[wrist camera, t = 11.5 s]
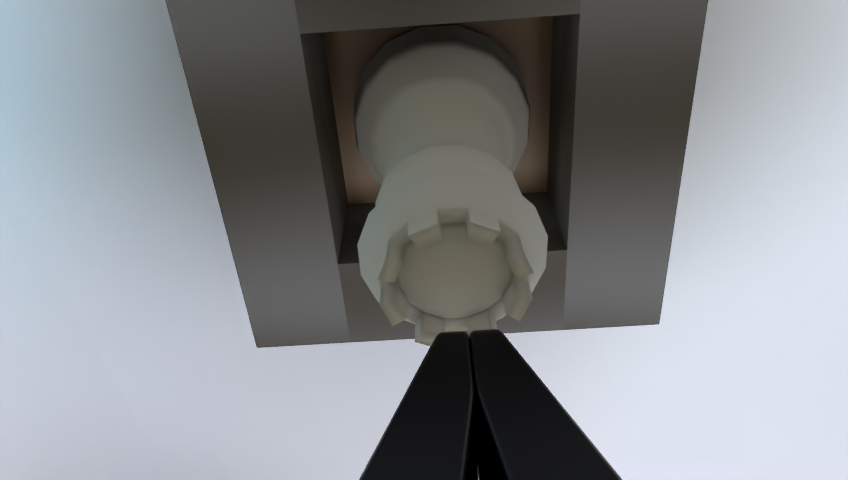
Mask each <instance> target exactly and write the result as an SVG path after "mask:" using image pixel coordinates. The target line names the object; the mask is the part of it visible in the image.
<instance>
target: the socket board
mask: <svg viewBox="0 0 848 480" xmlns="http://www.w3.org/2000/svg"><path fill="white" fill-rule="evenodd" d="M166 4H167V8H168V12H169V15H170V19H171V23H172V27H173V31H174V34H175V38H176V42H177V46H178V50H179V53H180V57H181V61H182V65H183V69H184V72H185V76H186V80H187V84H188V88H189V91H190V95H191V99H192V103H193V107H194V110H195V114H196V118H197V122H198V126H199V129H200V133H201V137H202V141H203V145H204V148H205V152H206V156H207V160H208V164H209V167H210V171H211V175H212V179H213V183H214V186H215V190H216V194H217V198H218V202H219V205H220V209H221V213H222V217H223V221H224V224H225V228H226V232H227V236H228V240H229V243H230V247H231V251H232V255H233V259H234V262H235V266H236V270H237V274H238V278H239V281H240V285H241V289H242V293H243V297H244V300H245V304H246V308H247V312H248V316H249V319H250V323H251V327H252V331H253V335H254V338H255V342H256V346H257V348H261V347H278V346H295V345H312V344H329V343H346V342H363V341H380V340H398V339H415V324H413V323H410V322H407V321H405V320H403V321H402V322H400V323H398V324H396V325H395V326H392V324H391V323H390V321H389V320H388V318H387V316H386V315H385V313H384V312H383V310H382V309H381V307H380V305H379V302H378V301H377V300H376V298H375V297H374V295H373V294H372V292H371V290H370V289H369V287H368V286H367V284H366V282H365V281H364V279H363V278H362V276H361V271H360V263H359V254H358V246H357V244H358V241H359V239H360V236H361V233H362V230H363V228H364V225H365V222H366V219H367V217H368V214H369V213H370V212H371V211H372V210H373V209H374V208H375V207H376V206H375V202H376V200H377V197H378V194H379V191H380V189H381V186H382V185H381V184H380V183H379V182H377V181H376V180H375V179H374V177H373V175H372V173H371V172H370V170H369V168H368V166H367V165H366V163H365V161H364V159H363V158H362V156H361V154H360V152H359V150H358V149H357V145H356V136H355V127H354V117H353V114H354V104H353V100H354V97H355V94H356V91H357V88H358V85H359V82H360V78H361V75H362V72H363V69H364V68H365V67H366V66H367V65H368V63H369V62H370V61H371V60H372V59H373V58H374V57H375V55H376V54H377V53H378V52H379V51H380V50H381V49H382V48H383V46H384V45H385V44H386V43H387V42H389V41H391V40H393V39H395V38H398V37H400V36H402V35H404V34H406V33H408V32H410V31H412V30H414V29H416V28H418V27H428V26H449V25H458V26H460V27H463V28H466V29H468V30H471V31H474V32H476V33H479V34H482V35H485V36H487V37H490V38H491V39H492V40H493V41H494V42H496V43H497V44H498V45H499V46H500V47H501V48H502V49H503V50H504V51H505V52H506V53H507V54H508V55H509V56H510V57H511V58H512V59H513V60H514V61H515V62H516V64H517V66H518V69H519V71H520V74H521V76H522V79H523V81H524V84H525V86H526V89H527V91H528V102H529V104H530V129H529V141H528V144H527V146H526V148H525V150H524V152H523V155H522V157H521V159H520V161H519V163H518V165H517V167H516V169H515V171H514V173H513V176H514V178H515V180H516V182H517V185H518V187H519V189H520V191H521V194H522V196H524V197H525V198H526V199H527V200H528V201H529V202H531V203H532V204H533V205H534V206H535V208H536V210H537V212H538V215H539V217H540V219H541V222H542V224H543V226H544V228H545V231H546V233H547V235H548V242H547V258H546V268H545V270H544V272H543V274H542V275H541V277H540V279H539V281H538V283H537V284H536V286H535V288H534V290H533V292H532V298H533V299H532V301H531V303H530V305H529V306H528V308H527V310H526V312H525V314H524V315H523V317H522V319H521V321H518V320H516V319H514V318H512V317H510V316H508V315H506V316H504V317H503V318H501V319H499V320H497V321H496V324H497V329H498V330H500V331H501V332H502V333H517V332H534V331H551V330H569V329H586V328H603V327H620V326H637V325H654V324H659V321H660V315H661V308H662V301H663V295H664V288H665V282H666V275H667V268H668V262H669V255H670V248H671V242H672V235H673V229H674V222H675V215H676V209H677V202H678V196H679V189H680V182H681V176H682V169H683V163H684V156H685V149H686V143H687V136H688V129H689V123H690V116H691V110H692V103H693V96H694V90H695V83H696V77H697V70H698V63H699V57H700V50H701V44H702V37H703V30H704V24H705V17H706V10H707V4H708V0H166ZM447 332H452V331H447ZM465 332H467V333H468V331H465Z"/></svg>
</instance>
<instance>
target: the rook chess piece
mask: <svg viewBox="0 0 848 480" xmlns="http://www.w3.org/2000/svg"><path fill="white" fill-rule="evenodd" d="M353 104H354V114H353V117H354V127H355V136H356V145H357V149H358V150H359V152H360V154H361V156H362V158H363V159H364V161H365V163H366V165H367V166H368V168H369V170H370V172H371V173H372V175H373V177H374V179H375V180H376V181H377V182H379V183H380V184H381V185H382V186H381V189H380V191H379V194H378V197H377V200H376V202H375V206H376V207H375V208H374V209H373V210H372V211H371V212H370V213H369V214H368V217H367V219H366V222H365V225H364V228H363V230H362V233H361V236H360V239H359V241H358V244H357V246H358V254H359V263H360V271H361V276H362V278H363V279H364V281H365V282H366V284H367V286H368V287H369V289H370V290H371V292H372V294H373V295H374V297H375V298H376V300H377V301H378V302H379V305H380V307H381V309H382V310H383V312H384V313H385V315H386V316H387V318H388V320H389V321H390V323H391V324H392V326H395V325H396V324H398V323H400V322H402V321H403V320H405V321H407V322H410V323H413V324H415V342H418V343H421V344H425V345H429V346H431V345H432V343H433V341H434V339H435V337H436V336H437V334H439V333H440V332H447V331H468V335H469V334H470V332H471V331H473V330H486V329H497V324H496V321H497V320H499V319H501V318H503V317H504V316H506V315H508V316H510V317H512V318H514V319H516V320H518V321H521V319H522V317H523V315H524V314H525V312H526V310H527V308H528V306H529V305H530V303H531V301H532V299H533V298H532V292H533V290H534V288H535V286H536V284H537V283H538V281H539V279H540V277H541V275H542V274H543V272H544V270H545V268H546V258H547V242H548V235H547V233H546V231H545V228H544V226H543V224H542V222H541V219H540V217H539V215H538V212H537V210H536V208H535V206H534V205H533V204H532V203H531V202H529V201H528V200H527V199H526V198H525V197H524V196H522V194H521V191H520V189H519V187H518V185H517V182H516V180H515V178H514V176H513V173H514V171H515V169H516V167H517V165H518V163H519V161H520V159H521V157H522V155H523V152H524V150H525V148H526V146H527V144H528V141H529V129H530V104H529V102H528V91H527V89H526V86H525V84H524V81H523V79H522V76H521V74H520V71H519V69H518V66H517V64H516V62H515V61H514V60H513V59H512V58H511V57H510V56H509V55H508V54H507V53H506V52H505V51H504V50H503V49H502V48H501V47H500V46H499V45H498V44H497V43H496V42H494V41H493V40H492V39H491V38H490V37H487V36H485V35H482V34H479V33H476V32H474V31H471V30H468V29H466V28H463V27H460V26H458V25H449V26H428V27H418V28H416V29H414V30H412V31H410V32H408V33H406V34H404V35H402V36H400V37H398V38H395V39H393V40H391V41H389V42H387V43H386V44H385V45H384V46H383V48H382V49H381V50H380V51H379V52H378V53H377V54H376V55H375V57H374V58H373V59H372V60H371V61H370V62H369V63H368V65H367V66H366V67H365V68H364V69H363V72H362V75H361V78H360V82H359V85H358V88H357V91H356V94H355V97H354V100H353Z"/></svg>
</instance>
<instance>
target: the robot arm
mask: <svg viewBox="0 0 848 480" xmlns="http://www.w3.org/2000/svg"><path fill="white" fill-rule="evenodd" d="M478 478H479V480H622V479H621V477H620V476H619V475H618V474H617V473H616V471H615V470H614V469H613V468H612V466H611V465H610V464H609V463H608V462H607V460H606V459H605V458H604V457H603V455H602V454H601V453H600V452H599V450H598V449H597V448H596V447H595V446H594V444H593V443H592V442H591V441H590V439H589V438H588V437H587V436H586V435H585V433H584V432H583V431H582V430H581V428H580V427H579V426H578V425H577V424H576V422H575V421H574V420H573V419H572V417H571V416H570V415H569V414H568V412H567V411H566V410H565V409H564V408H563V406H562V405H561V404H560V403H559V401H558V400H557V399H556V398H555V397H554V395H553V394H552V393H551V392H550V390H549V389H548V388H547V387H546V386H545V384H544V383H543V382H542V381H541V379H540V378H539V377H538V376H537V375H536V373H535V372H534V371H533V370H532V368H531V367H530V366H529V365H528V363H527V362H526V361H525V360H524V359H523V357H522V356H521V355H520V354H519V352H518V351H517V350H516V349H515V348H514V346H513V345H512V344H511V343H510V341H509V340H508V339H507V338H506V337H505V335H504V334H503V333H502V332H501V331H500V330H498V329H486V330H473V331H471V332H470V334H469V335H468V333H467V332H465V331H452V332H440V333H439V334H437V336H436V337H435V339H434V341H433V343H432V345H431V346H430V348H429V350H428V352H427V354H426V356H425V358H424V359H423V361H422V363H421V365H420V367H419V369H418V371H417V373H416V374H415V376H414V378H413V380H412V382H411V384H410V386H409V387H408V389H407V391H406V393H405V395H404V397H403V399H402V400H401V402H400V404H399V406H398V408H397V410H396V412H395V414H394V415H393V417H392V419H391V421H390V423H389V425H388V427H387V428H386V430H385V432H384V434H383V436H382V438H381V440H380V441H379V443H378V445H377V447H376V449H375V451H374V453H373V455H372V456H371V458H370V460H369V462H368V464H367V466H366V468H365V469H364V471H363V473H362V475H361V477H360V479H359V480H478Z"/></svg>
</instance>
